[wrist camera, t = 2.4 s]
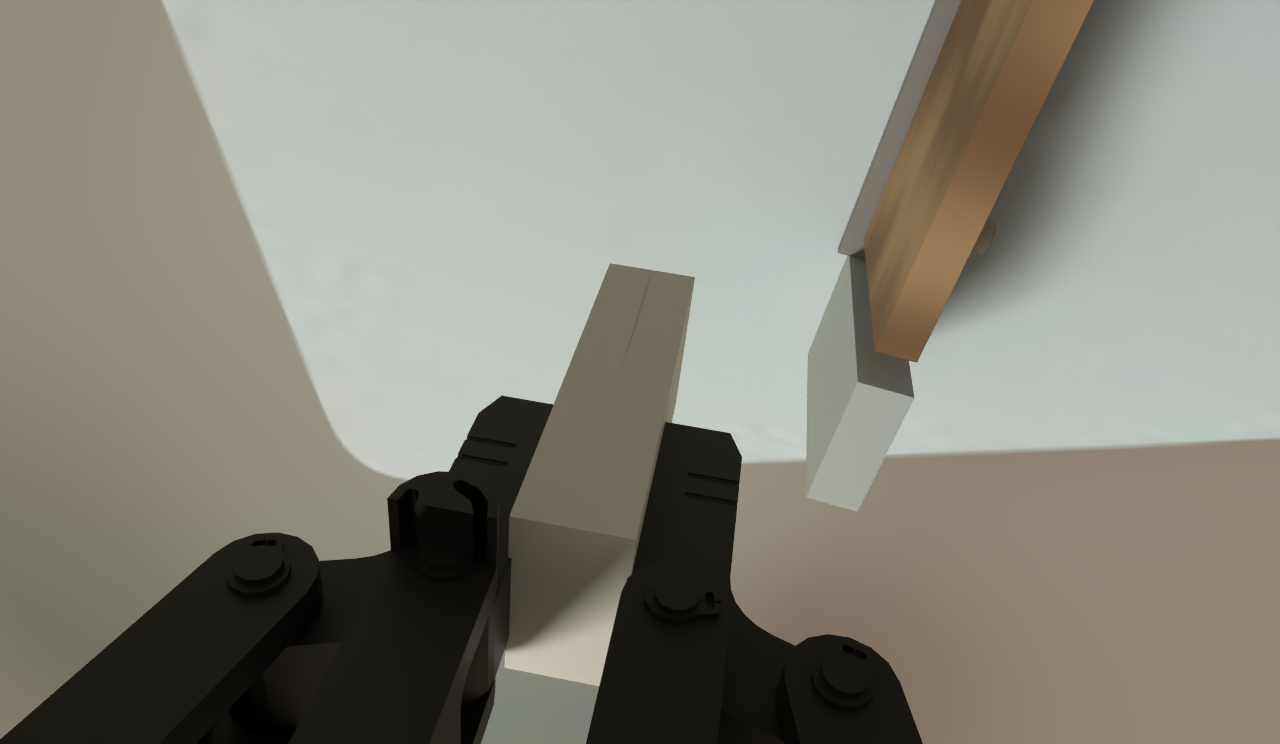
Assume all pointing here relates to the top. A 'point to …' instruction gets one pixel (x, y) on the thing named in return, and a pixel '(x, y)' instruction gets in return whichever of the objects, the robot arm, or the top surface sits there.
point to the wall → (863, 325)
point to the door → (960, 159)
